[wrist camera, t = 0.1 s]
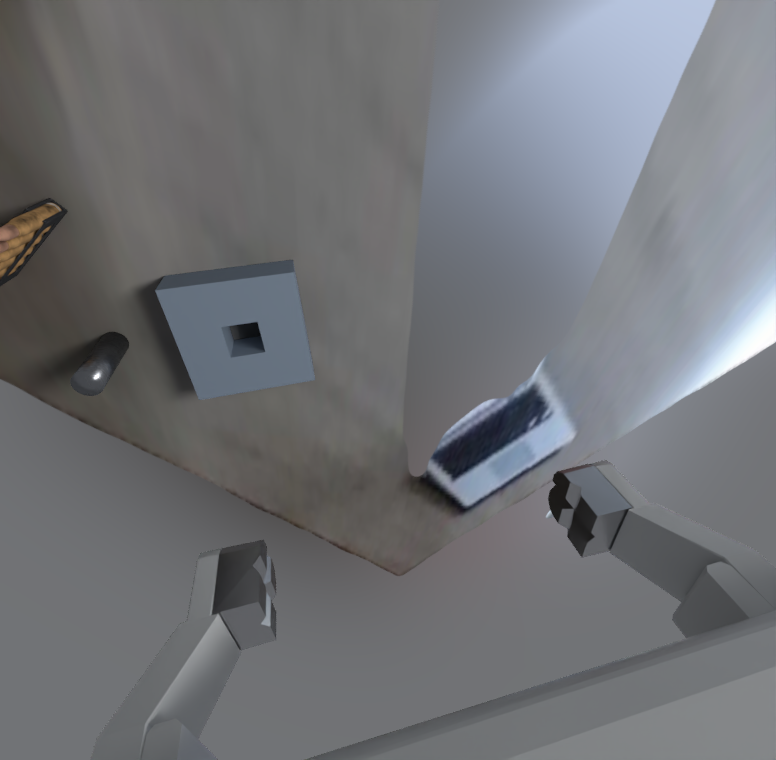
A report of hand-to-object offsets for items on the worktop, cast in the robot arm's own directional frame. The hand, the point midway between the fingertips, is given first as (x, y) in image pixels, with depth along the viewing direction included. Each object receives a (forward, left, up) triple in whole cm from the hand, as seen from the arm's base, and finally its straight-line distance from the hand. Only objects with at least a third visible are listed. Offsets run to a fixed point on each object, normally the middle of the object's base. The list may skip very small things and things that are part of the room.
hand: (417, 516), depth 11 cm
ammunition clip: (+1, -31, -48) cm, 57 cm away
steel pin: (+15, -28, -48) cm, 58 cm away
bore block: (+15, -11, -48) cm, 51 cm away
